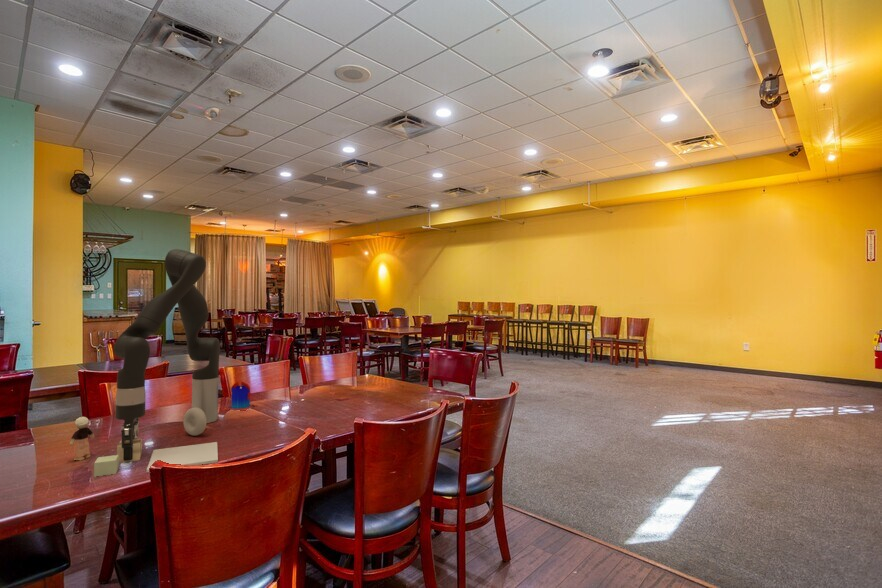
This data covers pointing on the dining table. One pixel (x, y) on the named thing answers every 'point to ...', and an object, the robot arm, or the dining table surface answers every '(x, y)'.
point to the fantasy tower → (240, 397)
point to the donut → (189, 421)
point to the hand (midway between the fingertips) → (129, 456)
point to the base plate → (187, 455)
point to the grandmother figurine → (81, 439)
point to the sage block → (106, 465)
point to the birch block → (136, 450)
